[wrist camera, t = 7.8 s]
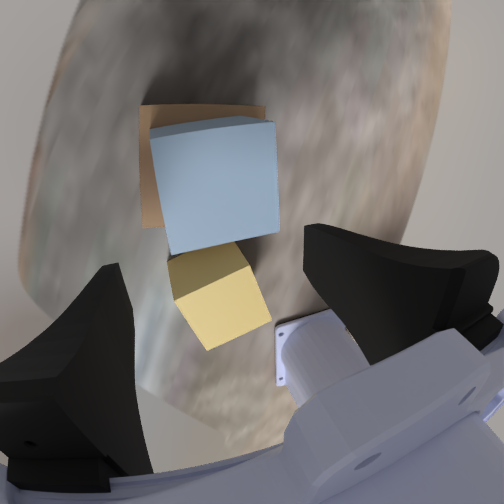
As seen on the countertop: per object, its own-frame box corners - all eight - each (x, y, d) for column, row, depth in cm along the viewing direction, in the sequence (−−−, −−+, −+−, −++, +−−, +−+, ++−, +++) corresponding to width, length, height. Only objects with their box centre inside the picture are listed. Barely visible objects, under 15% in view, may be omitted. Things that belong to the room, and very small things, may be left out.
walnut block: (240, 202, 22) (256, 219, 19) (142, 209, 20) (142, 228, 17) (246, 105, 19) (265, 106, 16) (140, 105, 17) (139, 105, 14)
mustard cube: (249, 282, 25) (272, 320, 21) (194, 308, 25) (207, 350, 21) (228, 231, 23) (249, 264, 18) (166, 261, 22) (174, 301, 18)
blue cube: (240, 115, 16) (274, 121, 12) (246, 198, 18) (279, 231, 14) (149, 129, 15) (149, 139, 11) (164, 214, 17) (171, 255, 13)
